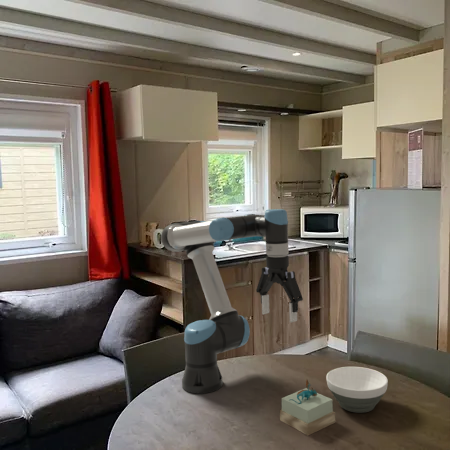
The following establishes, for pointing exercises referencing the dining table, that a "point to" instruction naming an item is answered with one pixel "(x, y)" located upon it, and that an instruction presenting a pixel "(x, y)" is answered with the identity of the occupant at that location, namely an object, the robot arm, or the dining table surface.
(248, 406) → the dining table surface
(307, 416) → the tower top
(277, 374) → the dining table surface
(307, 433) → the tower base
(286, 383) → the dining table surface
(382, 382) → the bowl
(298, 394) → the dragon figurine
